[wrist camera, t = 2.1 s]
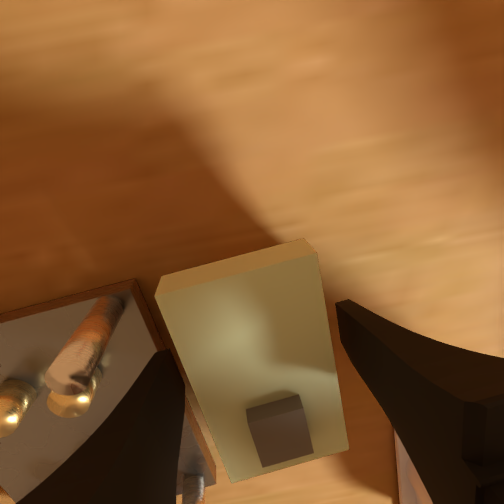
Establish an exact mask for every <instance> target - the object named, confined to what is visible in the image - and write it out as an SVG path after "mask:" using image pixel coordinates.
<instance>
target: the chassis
mask: <svg viewBox="0 0 504 504" xmlns="http://www.w3.org/2000/svg"><path fill="white" fill-rule="evenodd" d="M162 350H165V346H164V344H163V342H162V339H161V337H160V335H159V332H158V330H157V328H156V325H155V323H154V321H153V318H152V316H151V314H150V311H149V309H148V307H147V304H146V302H145V300H144V297H143V295H142V293H141V290H140V288H139V286H138V283H137V281H136V279H131V280H127V281H123V282H120V283H116V284H112V285H108V286H105V287H101V288H97V289H93V290H89V291H86V292H82V293H78V294H74V295H71V296H67V297H63V298H59V299H56V300H52V301H48V302H44V303H41V304H37V305H33V306H29V307H26V308H22V309H18V310H14V311H10V312H7V313H3V314H0V485H1V487H2V488H3V489H4V490H5V491H6V492H7V493H8V495H9V496H10V497H11V498H12V499H13V500H14V501H15V503H17V502H18V501H20V500H21V499H22V498H23V497H25V496H26V495H27V494H28V493H30V492H31V491H32V490H33V489H34V488H36V487H37V486H38V485H39V484H40V483H41V482H43V481H44V480H45V479H46V478H47V477H48V476H50V475H51V474H52V473H53V472H54V471H55V470H56V469H57V468H58V467H60V466H61V465H62V464H63V463H64V462H65V461H66V460H67V459H68V458H69V457H70V456H71V455H72V454H73V453H74V452H75V451H76V450H77V449H78V448H79V447H80V446H81V445H82V444H83V443H84V442H85V441H86V440H87V439H88V438H89V437H90V436H91V435H92V434H93V433H94V432H95V431H96V429H97V428H98V427H99V426H100V425H101V424H102V423H103V422H104V420H105V419H106V418H107V417H108V416H109V415H110V413H111V412H112V411H113V410H114V408H115V407H116V406H117V404H118V403H119V402H120V401H121V399H122V398H123V397H124V395H125V394H126V393H127V392H128V390H129V389H130V387H131V386H132V385H133V383H134V382H135V380H136V379H137V378H138V376H139V375H140V373H141V372H142V370H143V369H144V368H145V366H146V365H147V363H148V362H149V360H150V359H151V357H152V356H153V355H154V353H155V352H158V351H162ZM214 484H216V465H215V463H214V460H213V458H212V456H211V453H210V451H209V449H208V446H207V444H206V442H205V439H204V437H203V435H202V432H201V430H200V428H199V426H198V423H197V421H196V419H195V416H194V414H193V412H192V409H191V407H190V405H189V402H188V400H187V398H186V395H185V413H184V422H183V430H182V438H181V445H180V453H179V461H178V471H177V488H176V495H179V494H182V504H205V487H207V486H211V485H214Z"/></svg>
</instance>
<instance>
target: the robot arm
mask: <svg viewBox="0 0 504 504" xmlns="http://www.w3.org/2000/svg"><path fill="white" fill-rule="evenodd" d="M335 306H336V312H337V319H338V326H339V332H340V339H341V343H342V345H343V347H344V349H345V351H346V353H347V355H348V357H349V358H350V360H351V362H352V364H353V365H354V367H355V368H356V370H357V371H358V373H359V374H360V376H361V377H362V379H363V380H364V382H365V383H366V385H367V386H368V388H369V389H370V391H371V392H372V394H373V395H374V397H375V398H376V400H377V401H378V403H379V404H380V405H381V407H382V409H383V410H384V412H385V413H386V415H387V417H388V418H389V420H390V422H391V424H392V426H393V427H394V436H395V449H396V461H397V474H398V487H399V499H400V504H504V358H500V357H495V356H491V355H486V354H482V353H478V352H473V351H469V350H466V349H462V348H459V347H455V346H452V345H448V344H445V343H442V342H439V341H436V340H433V339H431V338H428V337H425V336H422V335H420V334H417V333H415V332H412V331H410V330H408V329H405V328H403V327H401V326H399V325H397V324H394V323H392V322H390V321H388V320H386V319H384V318H382V317H380V316H379V315H377V314H375V313H373V312H371V311H369V310H367V309H366V308H364V307H362V306H360V305H359V304H357V303H355V302H353V301H351V300H349V299H348V300H344V301H341V302H337V303H335ZM184 413H185V384H184V381H183V379H182V377H181V374H180V372H179V369H178V367H177V365H176V362H175V360H174V358H173V355H172V353H171V351H170V348H169V349H165V350H162V351H158V352H155V353H154V355H153V356H152V357H151V359H150V360H149V362H148V363H147V365H146V366H145V368H144V369H143V370H142V372H141V373H140V375H139V376H138V378H137V379H136V380H135V382H134V383H133V385H132V386H131V387H130V389H129V390H128V392H127V393H126V394H125V395H124V397H123V398H122V399H121V401H120V402H119V403H118V404H117V406H116V407H115V408H114V410H113V411H112V412H111V413H110V415H109V416H108V417H107V418H106V419H105V420H104V422H103V423H102V424H101V425H100V426H99V427H98V428H97V429H96V431H95V432H94V433H93V434H92V435H91V436H90V437H89V438H88V439H87V440H86V441H85V442H84V443H83V444H82V445H81V446H80V447H79V448H78V449H77V450H76V451H75V452H74V453H73V454H72V455H71V456H70V457H69V458H68V459H67V460H66V461H65V462H64V463H63V464H62V465H61V466H60V467H58V468H57V469H56V470H55V471H54V472H53V473H52V474H51V475H50V476H48V477H47V478H46V479H45V480H44V481H43V482H41V483H40V484H39V485H38V486H37V487H36V488H34V489H33V490H32V491H31V492H30V493H28V494H27V495H26V496H25V497H23V498H22V499H21V500H20V501H18V502H17V503H16V504H176V488H177V471H178V461H179V453H180V445H181V438H182V430H183V422H184Z"/></svg>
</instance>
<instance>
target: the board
mask: <svg viewBox="0 0 504 504" xmlns="http://www.w3.org/2000/svg"><path fill="white" fill-rule="evenodd" d="M154 297H155V299H156V302H157V304H158V307H159V309H160V311H161V314H162V316H163V319H164V321H165V324H166V326H167V328H168V331H169V333H170V336H171V338H172V340H173V343H174V345H175V348H176V350H177V353H178V355H179V357H180V360H181V362H182V365H183V367H184V370H185V372H186V374H187V377H188V379H189V382H190V384H191V387H192V389H193V391H194V394H195V396H196V399H197V401H198V403H199V406H200V408H201V411H202V413H203V416H204V418H205V420H206V423H207V425H208V428H209V430H210V433H211V435H212V437H213V440H214V442H215V445H216V447H217V449H218V452H219V454H220V457H221V459H222V462H223V464H224V466H225V469H226V471H227V474H228V476H229V479H230V481H231V483H235V482H238V481H242V480H245V479H249V478H252V477H256V476H259V475H263V474H266V473H270V472H273V471H277V470H280V469H284V468H287V467H291V466H294V465H297V464H301V463H304V462H308V461H311V460H315V459H318V458H322V457H325V456H329V455H332V454H336V453H339V452H343V451H346V450H349V444H348V438H347V432H346V426H345V420H344V414H343V408H342V402H341V396H340V390H339V383H338V377H337V371H336V365H335V359H334V353H333V347H332V341H331V335H330V329H329V323H328V317H327V311H326V305H325V299H324V293H323V287H322V281H321V275H320V269H319V263H318V256H317V252H316V251H315V250H314V249H313V248H312V247H311V246H310V244H309V243H308V242H307V241H306V240H305V239H304V238H302V239H299V240H295V241H291V242H287V243H284V244H280V245H276V246H272V247H269V248H265V249H261V250H257V251H254V252H250V253H246V254H242V255H238V256H235V257H231V258H227V259H223V260H220V261H216V262H212V263H208V264H205V265H201V266H197V267H193V268H190V269H186V270H182V271H178V272H175V273H171V274H167V275H163V276H161V279H160V282H159V284H158V287H157V290H156V293H155V296H154Z"/></svg>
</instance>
